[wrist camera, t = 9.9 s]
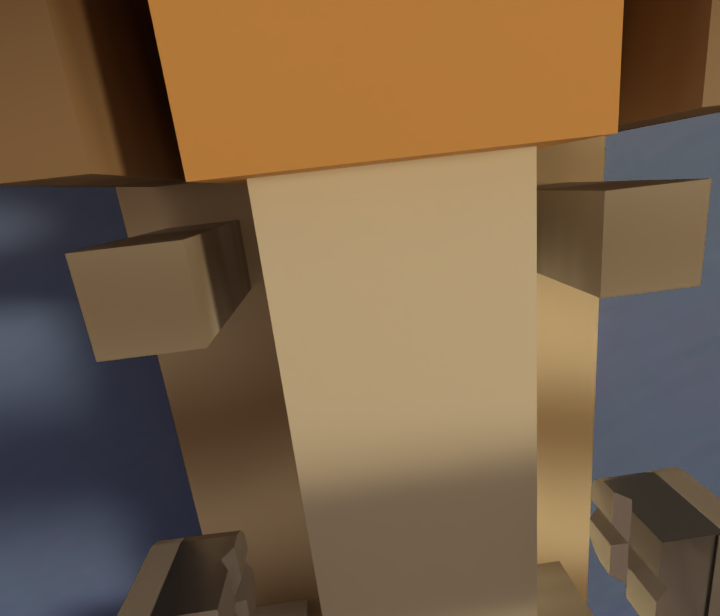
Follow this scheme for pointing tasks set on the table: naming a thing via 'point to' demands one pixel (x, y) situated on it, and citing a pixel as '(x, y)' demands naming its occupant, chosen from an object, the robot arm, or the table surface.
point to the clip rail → (246, 282)
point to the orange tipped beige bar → (399, 261)
